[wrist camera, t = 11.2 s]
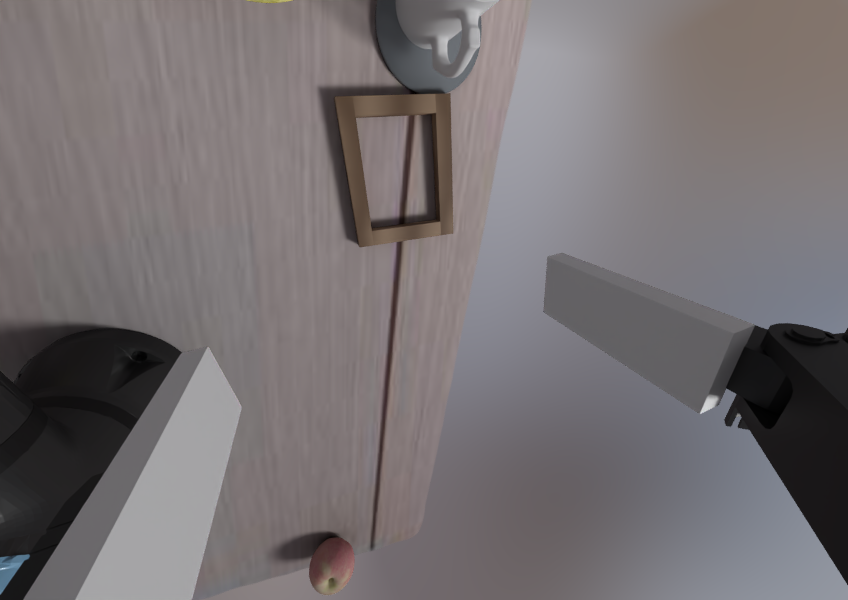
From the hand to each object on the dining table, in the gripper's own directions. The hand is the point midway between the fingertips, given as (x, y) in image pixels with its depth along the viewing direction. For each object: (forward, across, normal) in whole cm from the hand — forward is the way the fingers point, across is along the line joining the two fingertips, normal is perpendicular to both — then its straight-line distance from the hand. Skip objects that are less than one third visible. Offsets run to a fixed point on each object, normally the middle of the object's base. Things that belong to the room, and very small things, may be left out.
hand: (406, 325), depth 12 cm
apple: (+28, -17, -60) cm, 69 cm away
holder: (+27, +8, +3) cm, 28 cm away
